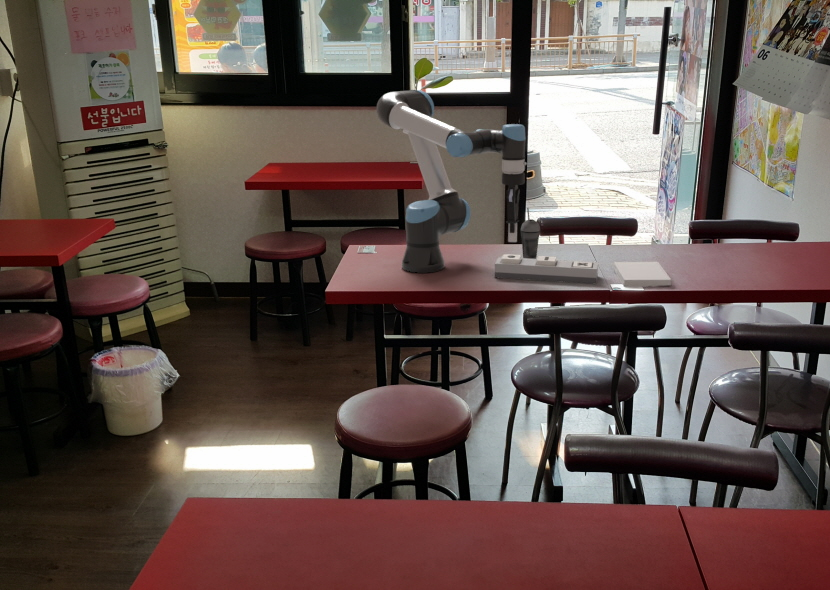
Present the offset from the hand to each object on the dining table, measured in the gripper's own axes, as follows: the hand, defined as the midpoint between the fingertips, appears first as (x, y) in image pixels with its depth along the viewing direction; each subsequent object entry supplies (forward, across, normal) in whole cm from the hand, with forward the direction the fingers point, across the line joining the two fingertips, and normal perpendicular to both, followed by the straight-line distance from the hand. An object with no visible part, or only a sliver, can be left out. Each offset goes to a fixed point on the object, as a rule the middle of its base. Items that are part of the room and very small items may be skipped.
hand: (512, 241), depth 275 cm
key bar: (+8, 0, -12) cm, 14 cm away
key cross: (+10, 0, -24) cm, 25 cm away
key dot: (+8, 0, 0) cm, 8 cm away
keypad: (+12, 0, -12) cm, 17 cm away
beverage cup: (+12, +19, -4) cm, 23 cm away
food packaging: (+13, +6, -43) cm, 45 cm away
